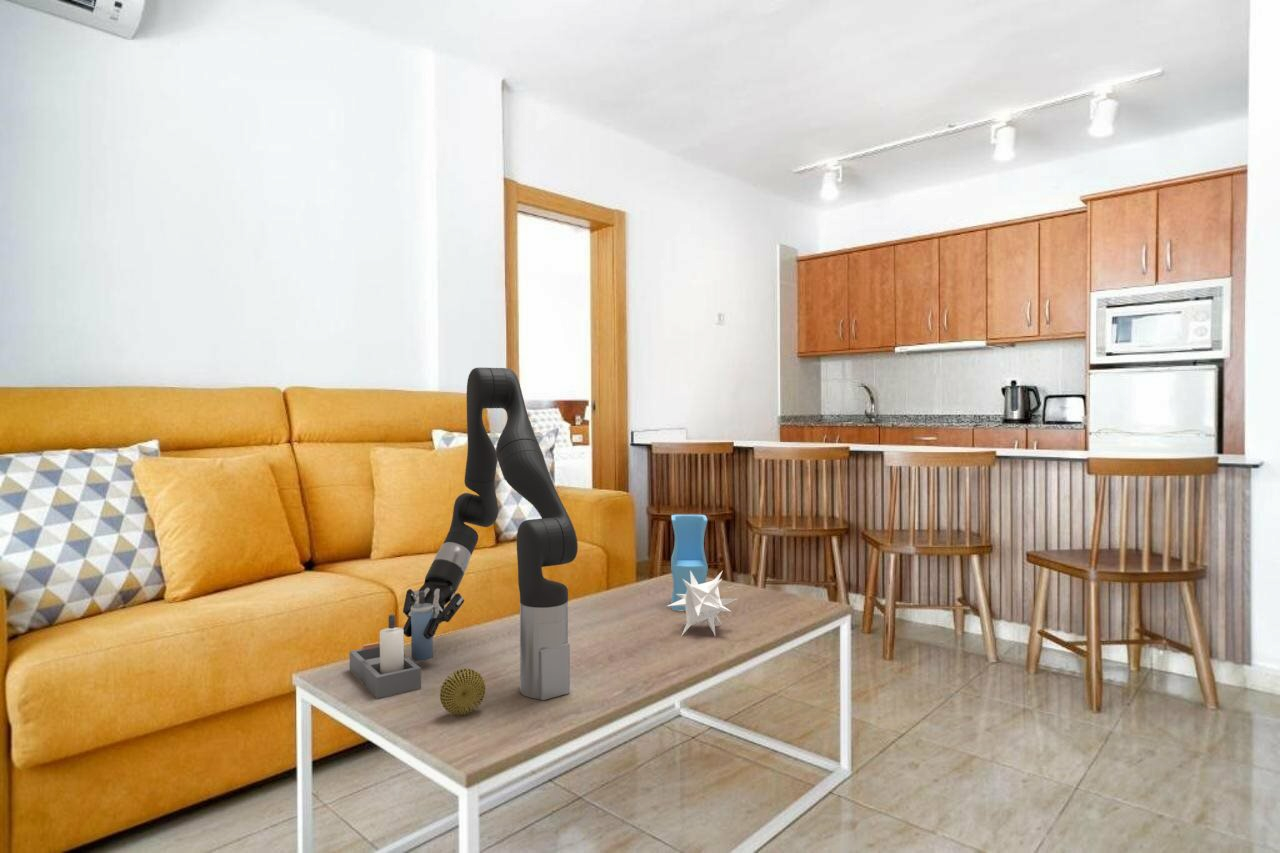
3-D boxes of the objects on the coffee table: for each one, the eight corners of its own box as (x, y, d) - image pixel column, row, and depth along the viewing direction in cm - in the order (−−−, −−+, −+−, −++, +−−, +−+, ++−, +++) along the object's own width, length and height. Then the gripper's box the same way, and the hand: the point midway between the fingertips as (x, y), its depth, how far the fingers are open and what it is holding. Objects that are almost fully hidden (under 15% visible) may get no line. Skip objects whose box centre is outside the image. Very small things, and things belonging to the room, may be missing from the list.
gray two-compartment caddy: (421, 688, 138) (420, 615, 138) (376, 698, 133) (376, 623, 132) (390, 661, 153) (390, 596, 153) (349, 670, 148) (349, 602, 147)
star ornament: (752, 636, 172) (752, 577, 171) (708, 649, 163) (708, 587, 162) (697, 615, 188) (697, 561, 187) (654, 626, 179) (654, 569, 178)
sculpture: (481, 705, 130) (481, 662, 129) (488, 713, 126) (488, 669, 126) (437, 714, 126) (437, 669, 126) (442, 723, 122) (442, 677, 122)
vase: (671, 611, 193) (671, 519, 192) (671, 601, 202) (671, 514, 202) (707, 611, 192) (707, 519, 192) (705, 601, 202) (705, 514, 202)
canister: (436, 657, 150) (435, 591, 150) (415, 662, 148) (414, 594, 147) (428, 652, 154) (428, 587, 154) (408, 656, 151) (407, 590, 151)
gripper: (414, 556, 160) (379, 624, 149) (469, 559, 155) (438, 630, 144) (428, 574, 165) (396, 641, 154) (482, 578, 161) (453, 648, 149)
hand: (416, 635), depth 149 cm, fingers closed on canister, 4 cm apart
